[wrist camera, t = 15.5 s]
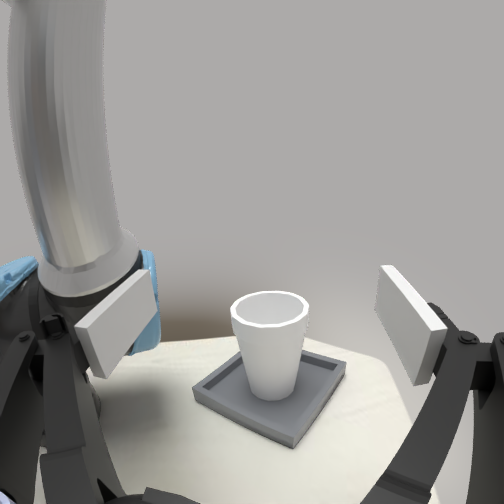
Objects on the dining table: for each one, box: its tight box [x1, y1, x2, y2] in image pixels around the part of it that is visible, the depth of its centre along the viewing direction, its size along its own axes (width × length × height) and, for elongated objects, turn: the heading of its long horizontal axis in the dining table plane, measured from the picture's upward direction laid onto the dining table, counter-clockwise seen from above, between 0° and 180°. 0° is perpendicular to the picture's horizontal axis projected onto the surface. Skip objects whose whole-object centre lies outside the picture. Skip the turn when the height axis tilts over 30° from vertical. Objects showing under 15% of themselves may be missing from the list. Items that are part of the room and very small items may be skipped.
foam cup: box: [230, 291, 309, 401], centre depth 36 cm, size 10×9×13 cm
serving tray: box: [192, 350, 346, 449], centre depth 38 cm, size 16×16×2 cm
